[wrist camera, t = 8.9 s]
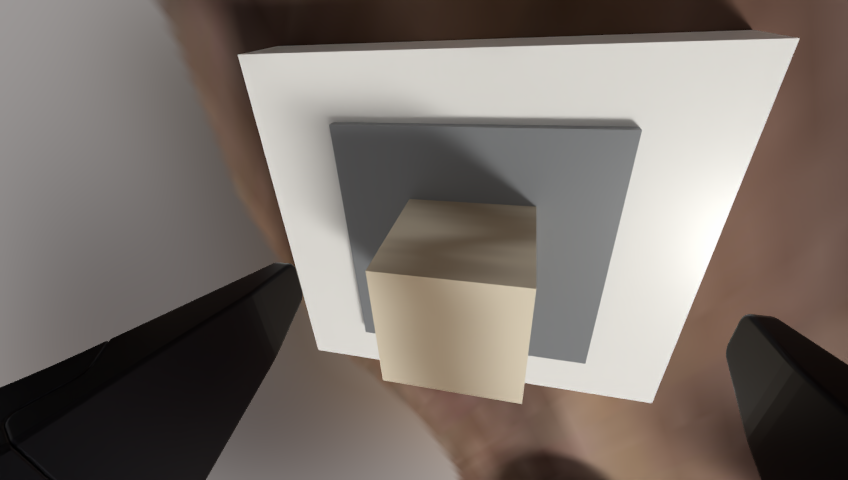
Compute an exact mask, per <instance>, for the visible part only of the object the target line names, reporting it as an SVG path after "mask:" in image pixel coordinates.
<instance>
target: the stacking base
mask: <svg viewBox="0 0 848 480" xmlns="http://www.w3.org/2000/svg"><path fill="white" fill-rule="evenodd" d="M799 39H800V38H796V37H791V36H785V35H779V34H774V33H768V32H763V31H757V30H736V31H707V32H677V33H648V34H618V35H589V36H559V37H530V38H501V39H471V40H442V41H412V42H383V43H353V44H324V45H294V46H276V47H271V48H266V49H261V50H257V51H252V52H247V53H242V54H238V58H239V61H240V65H241V69H242V72H243V76H244V80H245V83H246V87H247V91H248V94H249V98H250V102H251V105H252V109H253V113H254V116H255V120H256V124H257V127H258V131H259V134H260V138H261V142H262V145H263V149H264V153H265V156H266V160H267V164H268V167H269V171H270V175H271V178H272V182H273V186H274V189H275V193H276V197H277V200H278V204H279V207H280V211H281V215H282V218H283V222H284V226H285V229H286V233H287V237H288V240H289V244H290V248H291V251H292V255H293V259H294V262H295V266H296V270H297V273H298V277H299V281H300V284H301V288H302V291H303V295H304V299H305V302H306V306H307V310H308V313H309V317H310V321H311V324H312V328H313V332H314V335H315V339H316V342H317V346H318V349H319V350H323V351H329V352H335V353H342V354H348V355H354V356H360V357H367V358H373V359H379V360H380V358H379V352H378V346H377V339H376V333H375V327H374V321H373V315H372V308H371V302H370V296H369V290H368V284H367V277H366V269H367V268H368V266H369V264H370V263H371V261H372V259H373V258H374V256H375V254H376V253H377V251H378V250H379V248H380V246H381V245H382V243H383V241H384V240H385V238H386V236H387V235H388V233H389V232H390V230H391V228H392V227H393V225H394V223H395V222H396V220H397V218H398V217H399V215H400V214H401V212H402V210H403V209H404V207H405V205H406V204H407V202H408V200H409V199H417V200H434V201H450V202H467V203H484V204H501V205H517V206H534V207H536V296H535V304H534V312H533V320H532V328H531V335H530V343H529V351H528V359H527V367H526V375H525V383H529V384H535V385H541V386H548V387H554V388H560V389H566V390H572V391H579V392H585V393H591V394H597V395H604V396H610V397H616V398H622V399H629V400H635V401H641V402H647V403H652V402H653V399H654V397H655V394H656V392H657V389H658V387H659V384H660V382H661V380H662V377H663V375H664V372H665V370H666V367H667V365H668V362H669V360H670V357H671V355H672V352H673V350H674V347H675V345H676V342H677V340H678V338H679V335H680V333H681V330H682V328H683V325H684V323H685V320H686V318H687V315H688V313H689V310H690V308H691V305H692V303H693V300H694V298H695V296H696V293H697V291H698V288H699V286H700V283H701V281H702V278H703V276H704V273H705V271H706V268H707V266H708V263H709V261H710V258H711V256H712V254H713V251H714V249H715V246H716V244H717V241H718V239H719V236H720V234H721V231H722V229H723V226H724V224H725V221H726V219H727V217H728V214H729V212H730V209H731V207H732V204H733V202H734V199H735V197H736V194H737V192H738V189H739V187H740V184H741V182H742V179H743V177H744V175H745V172H746V170H747V167H748V165H749V162H750V160H751V157H752V155H753V152H754V150H755V147H756V145H757V142H758V140H759V137H760V135H761V133H762V130H763V128H764V125H765V123H766V120H767V118H768V115H769V113H770V110H771V108H772V105H773V103H774V100H775V98H776V95H777V93H778V91H779V88H780V86H781V83H782V81H783V78H784V76H785V73H786V71H787V68H788V66H789V63H790V61H791V58H792V56H793V53H794V51H795V49H796V46H797V44H798V41H799Z"/></svg>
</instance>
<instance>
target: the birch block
mask: <svg viewBox="0 0 848 480" xmlns="http://www.w3.org/2000/svg"><path fill="white" fill-rule="evenodd" d="M366 277H367V284H368V290H369V296H370V302H371V308H372V315H373V321H374V327H375V333H376V339H377V346H378V352H379V358H380V364H381V371H382V377H383V380H385V381H391V382H397V383H403V384H409V385H415V386H420V387H426V388H432V389H438V390H444V391H450V392H455V393H461V394H467V395H473V396H479V397H484V398H490V399H496V400H502V401H508V402H514V403H519V404H522V399H523V391H524V383H525V375H526V367H527V359H528V351H529V343H530V335H531V328H532V320H533V312H534V304H535V296H536V207H534V206H517V205H501V204H484V203H467V202H450V201H434V200H417V199H409V200H408V202H407V204H406V205H405V207H404V209H403V210H402V212H401V214H400V215H399V217H398V218H397V220H396V222H395V223H394V225H393V227H392V228H391V230H390V232H389V233H388V235H387V236H386V238H385V240H384V241H383V243H382V245H381V246H380V248H379V250H378V251H377V253H376V254H375V256H374V258H373V259H372V261H371V263H370V264H369V266H368V268H367V269H366Z"/></svg>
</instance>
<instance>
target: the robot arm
mask: <svg viewBox="0 0 848 480" xmlns="http://www.w3.org/2000/svg"><path fill="white" fill-rule="evenodd" d="M301 300H302V288H301V285H300V282H299V278H298V275H297V272H296V269H295V267H294V266H293V265H292V264H288V263H273V264H271V265H269V266H267V267H265V268H262V269H260V270H258V271H256V272H254V273H252V274H250V275H248V276H246V277H243V278H241V279H239V280H237V281H235V282H232V283H230V284H228V285H226V286H224V287H222V288H219V289H217V290H215V291H213V292H211V293H209V294H207V295H204V296H202V297H200V298H198V299H196V300H194V301H191V302H190V303H187V304H185V305H183V306H181V307H179V308H176V309H174V310H173V311H170V312H168V313H166V314H164V315H161V316H159V317H157V318H155V319H153V320H151V321H149V322H146V323H144V324H142V325H140V326H138V327H136V328H134V329H132V330H129V331H127V332H125V333H123V334H121V335H119V336H116V337H114V338H112V339H111V340H110V341H109V342H108V341H106V342H103V343H101V344H99V345H97V346H95V347H92V348H90V349H88V350H86V351H84V352H82V353H80V354H77V355H75V356H73V357H70V358H68V359H66V360H64V361H62V362H59V363H57V364H55V365H53V366H50V367H48V368H46V369H43V370H41V371H39V372H36V373H34V374H31V375H29V376H27V377H24V378H22V379H20V380H17V381H15V382H13V383H10V384H8V385H5V386H3V387H0V480H206V478H207V477H208V475H209V473H210V471H211V470H212V468H213V466H214V465H215V463H216V461H217V459H218V457H219V456H220V454H221V452H222V451H223V449H224V447H225V445H226V443H227V442H228V440H229V438H230V437H231V435H232V433H233V431H234V430H235V428H236V426H237V425H238V423H239V421H240V419H241V418H242V416H243V414H244V412H245V411H246V409H247V407H248V405H249V404H250V402H251V400H252V399H253V397H254V395H255V393H256V392H257V390H258V388H259V386H260V385H261V383H262V381H263V379H264V378H265V376H266V374H267V372H268V371H269V369H270V367H271V365H272V364H273V362H274V360H275V358H276V356H277V354H278V352H279V350H280V348H281V346H282V343H283V341H284V339H285V336H286V334H287V332H288V330H289V328H290V325H291V323H292V321H293V319H294V316H295V314H296V312H297V310H298V307H299V305H300V303H301ZM726 358H727V362H728V366H729V371H730V375H731V379H732V383H733V387H734V391H735V395H736V399H737V403H738V407H739V412H740V416H741V420H742V424H743V428H744V431H745V435H746V438H747V442H748V445H749V447H750V450H751V453H752V456H753V459H754V461H755V464H756V467H757V469H758V472H759V475H760V477H761V480H848V365H847V364H846V363H844V362H843V361H841V360H840V359H838V358H837V357H835V356H834V355H832V354H831V353H829V352H827V351H826V350H824V349H823V348H821V347H820V346H818V345H817V344H815V343H814V342H812V341H811V340H809V339H808V338H806V337H805V336H803V335H802V334H800V333H799V332H797V331H795V330H794V329H792V328H791V327H789V326H788V325H786V324H785V323H783V322H782V321H780V320H779V319H777V318H775V317H771V316H763V315H754V314H748V315H745V316H743V317H742V318H741V320H740V322H739V324H738V326H737V328H736V329H735V331H734V333H733V335H732V337H731V339H730V341H729V343H728V346H727V350H726Z"/></svg>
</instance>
